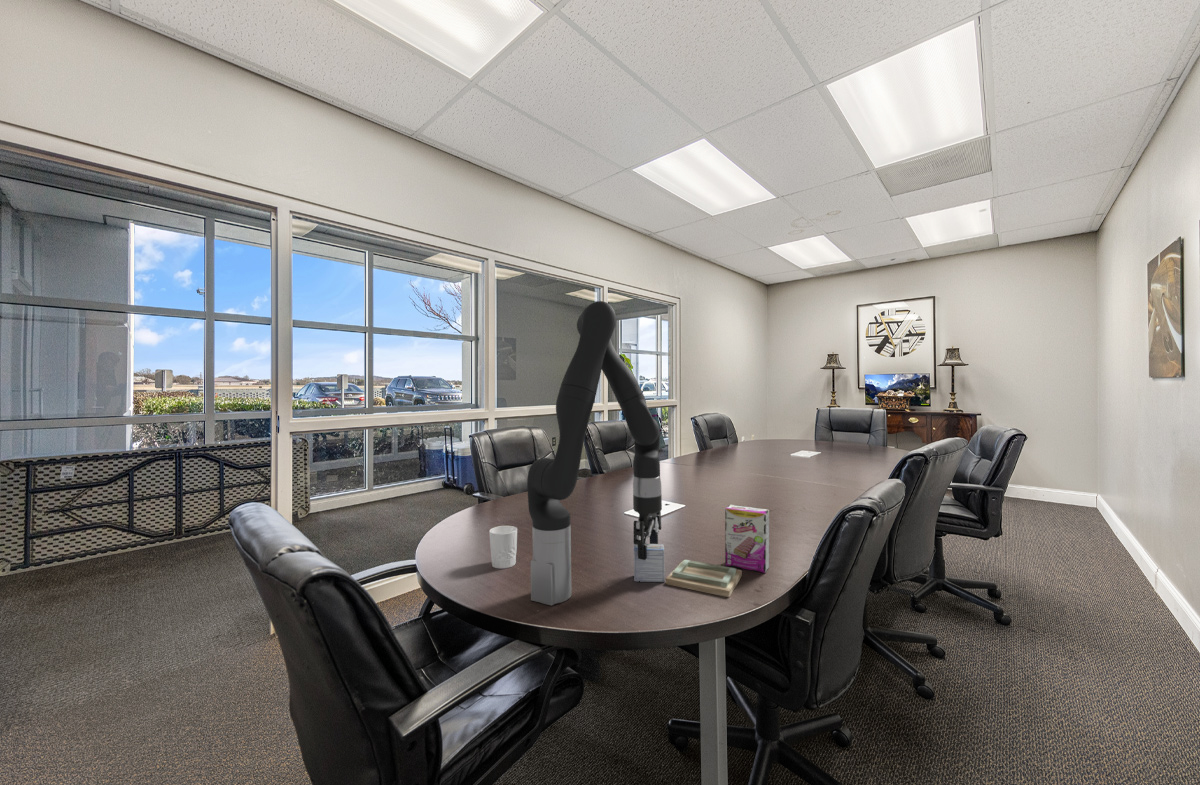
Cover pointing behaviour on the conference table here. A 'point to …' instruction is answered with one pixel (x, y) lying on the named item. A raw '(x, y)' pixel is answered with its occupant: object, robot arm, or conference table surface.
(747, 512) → the candy bar box
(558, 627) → the conference table surface
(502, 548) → the white cup
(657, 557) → the medicine box
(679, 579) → the locating plate
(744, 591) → the conference table surface
